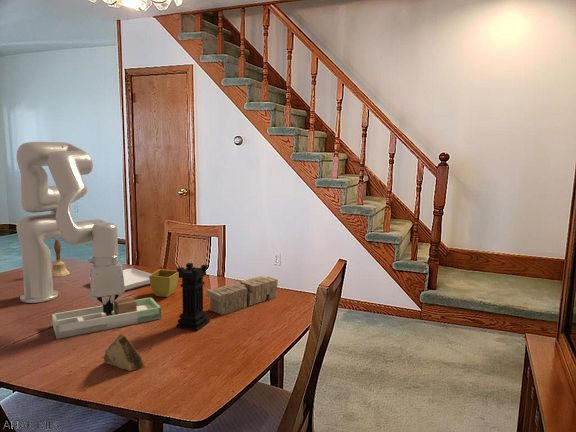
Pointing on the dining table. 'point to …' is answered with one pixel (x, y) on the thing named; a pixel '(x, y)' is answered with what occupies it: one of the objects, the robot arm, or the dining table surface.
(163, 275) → the flower pot
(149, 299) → the tray
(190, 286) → the chess piece
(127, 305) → the walnut block
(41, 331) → the dining table surface
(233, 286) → the block tower
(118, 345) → the rock
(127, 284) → the salad plate
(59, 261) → the hand bell
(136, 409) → the dining table surface
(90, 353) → the dining table surface
